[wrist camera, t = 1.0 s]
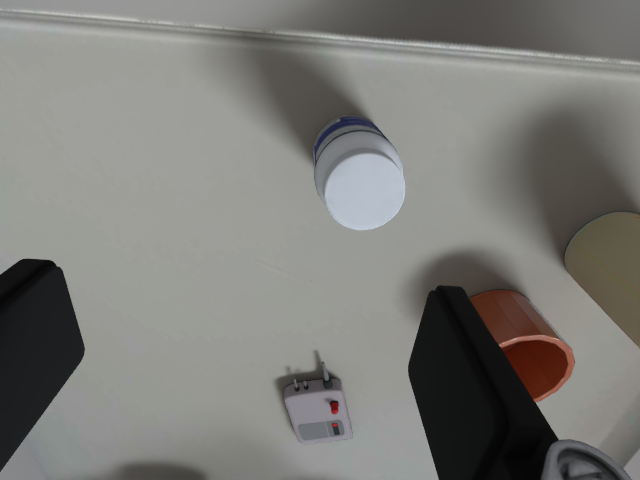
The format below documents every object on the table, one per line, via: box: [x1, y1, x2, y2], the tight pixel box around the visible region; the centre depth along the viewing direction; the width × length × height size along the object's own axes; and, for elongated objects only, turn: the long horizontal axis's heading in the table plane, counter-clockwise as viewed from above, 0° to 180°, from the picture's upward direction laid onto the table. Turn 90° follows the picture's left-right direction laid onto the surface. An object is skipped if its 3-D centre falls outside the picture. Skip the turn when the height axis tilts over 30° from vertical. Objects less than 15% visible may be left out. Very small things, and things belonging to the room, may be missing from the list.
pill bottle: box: [313, 115, 405, 230], centre depth 25 cm, size 6×6×10 cm
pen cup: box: [469, 290, 575, 402], centre depth 36 cm, size 9×9×6 cm
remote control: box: [284, 362, 353, 445], centre depth 42 cm, size 7×16×3 cm, turn 10°
